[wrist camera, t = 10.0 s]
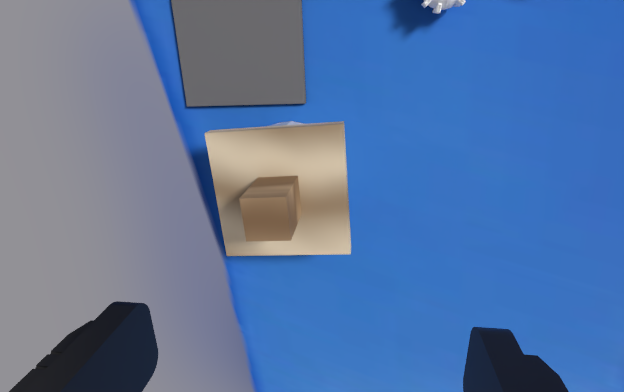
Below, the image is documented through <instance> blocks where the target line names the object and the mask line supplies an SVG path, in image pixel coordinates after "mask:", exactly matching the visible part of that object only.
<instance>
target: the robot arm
mask: <svg viewBox="0 0 624 392" xmlns="http://www.w3.org/2000/svg"><path fill="white" fill-rule="evenodd" d="M157 360H158V348H157V343H156V339H155V334H154V330H153V325H152V320H151V315H150V311H149V308H148V306H147V305H146V304H144V303H131V302H113V303H112V304H110V305H109V306H108V307H107V308H106V309H105V310H104V311H103V312H102V313H101V314H100V315H99V316H98V317H97V318H96V319H95V320H94V321H90V322H88V323H86V324H85V325H83V326H82V327H80V328H78V329H76V330H75V331H73V332H72V333H70V334H69V335H67V336H66V337H65V338H64V339H63V340H62V341H61V342H60V343H59V344H58V345H57V346H56V347H55V348H54V349H53V350H52V351H51V354H50V355H47V356H46V357H44V358H43V359H42V360H41V361H40V362H39V363H38V364H37V365H36V369H32V370H31V371H30V372H29V373H28V374H27V375H26V376H25V377H24V378H23V379H22V380H21V381H20V382H18V384H16V386H14V387H13V388H12V389H11V390H10V391H9V392H142V391H143V389H144V388H145V386H146V385H147V383H148V382H149V380H150V378H151V377H152V375H153V373H154V371H155V368H156V365H157ZM463 391H464V392H568V390H567V388H566V387H565V385H564V383H563V381H562V380H561V378H560V376H559V375H558V374H557V373H556V372H555V371H553V370H552V369H551V368H550V367H549V366H548V365H547V364H546V363H545V362H544V361H543V360H542V359H540V358H539V357H538V356H535V355H524V354H523V352H522V351H521V349H520V347H519V345H518V343H517V341H516V339H515V337H514V335H513V333H512V332H511V331H510V330H508V329H497V328H482V327H473V329H472V331H471V335H470V341H469V347H468V353H467V359H466V365H465V371H464V378H463Z"/></svg>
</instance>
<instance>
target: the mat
mask: <svg viewBox="0 0 624 392" xmlns="http://www.w3.org/2000/svg"><path fill="white" fill-rule="evenodd" d="M171 2H172V9H173V15H174V22H175V29H176V36H177V43H178V50H179V56H180V63H181V70H182V77H183V84H184V90H185V97H186V104H187V106H226V105H264V104H303V103H306V91H305V68H304V45H303V22H302V0H171Z"/></svg>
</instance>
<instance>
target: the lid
mask: <svg viewBox="0 0 624 392" xmlns="http://www.w3.org/2000/svg"><path fill="white" fill-rule="evenodd" d="M205 139H206V144H207V150H208V155H209V161H210V166H211V172H212V177H213V183H214V188H215V194H216V199H217V205H218V210H219V216H220V221H221V227H222V232H223V238H224V244H225V249H226V255H227V256H264V255H332V254H351V236H350V218H349V201H348V183H347V166H346V148H345V131H344V121H343V122H328V123H313V124H298V125H283V126H268V127H253V128H238V129H223V130H210V131H208V132H206V133H205Z"/></svg>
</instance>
